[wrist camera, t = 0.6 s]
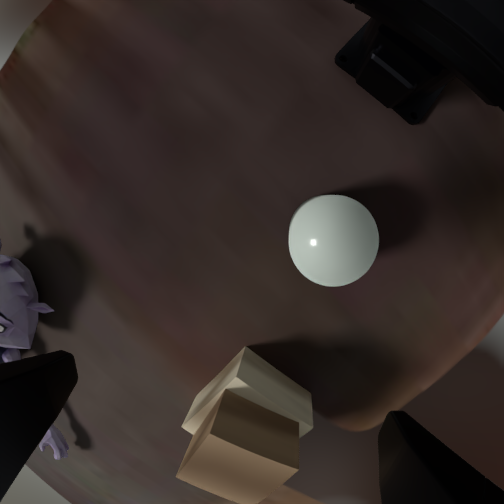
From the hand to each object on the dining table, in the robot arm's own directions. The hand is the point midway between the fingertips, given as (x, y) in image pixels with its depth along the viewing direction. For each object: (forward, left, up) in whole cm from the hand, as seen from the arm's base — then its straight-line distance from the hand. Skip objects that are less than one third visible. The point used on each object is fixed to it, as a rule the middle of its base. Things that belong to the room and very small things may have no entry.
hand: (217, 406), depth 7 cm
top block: (+7, +5, -9) cm, 12 cm away
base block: (+7, +5, -13) cm, 15 cm away
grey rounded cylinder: (-5, +1, -12) cm, 13 cm away
